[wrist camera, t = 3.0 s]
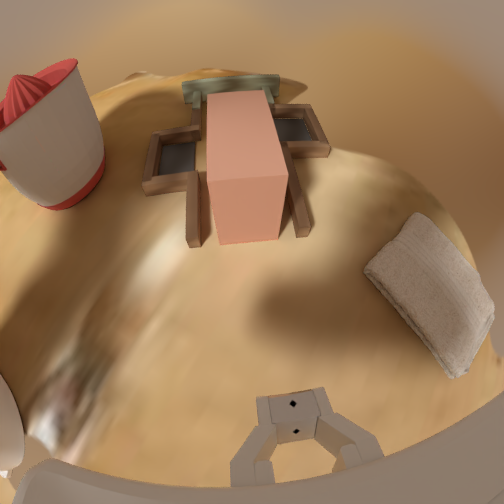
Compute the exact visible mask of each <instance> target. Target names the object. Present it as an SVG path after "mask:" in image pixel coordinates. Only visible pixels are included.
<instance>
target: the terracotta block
mask: <svg viewBox="0 0 504 504" xmlns="http://www.w3.org/2000/svg"><path fill="white" fill-rule="evenodd" d="M287 181H288V171H287V167H286V163H285V160H284V156H283V153H282V149H281V145H280V142H279V138H278V135H277V132H276V128H275V125H274V121H273V118H272V115H271V111H270V108H269V105H268V102H267V99H266V95H265V92H264V90H253V91H236V92H224V93H214V94H207V185H208V190H209V195H210V200H211V205H212V209H213V214H214V219H215V224H216V229H217V233H218V238H219V243H220V245H227V244H238V243H248V242H258V241H269V240H278V235H279V229H280V224H281V218H282V212H283V206H284V200H285V194H286V188H287Z"/></svg>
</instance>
